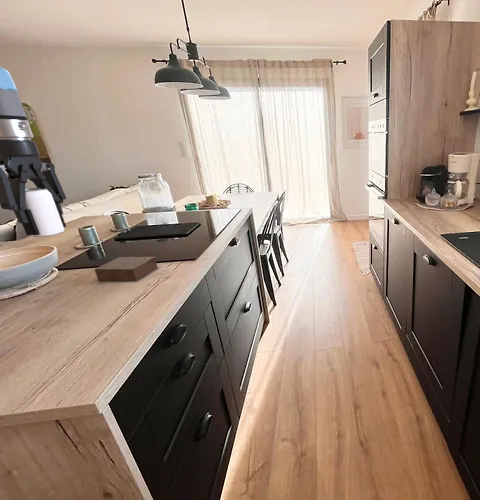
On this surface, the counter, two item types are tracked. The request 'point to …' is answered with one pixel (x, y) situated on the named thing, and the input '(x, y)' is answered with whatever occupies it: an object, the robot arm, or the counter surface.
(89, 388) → the counter surface
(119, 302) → the counter surface
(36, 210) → the can
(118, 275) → the walnut block
